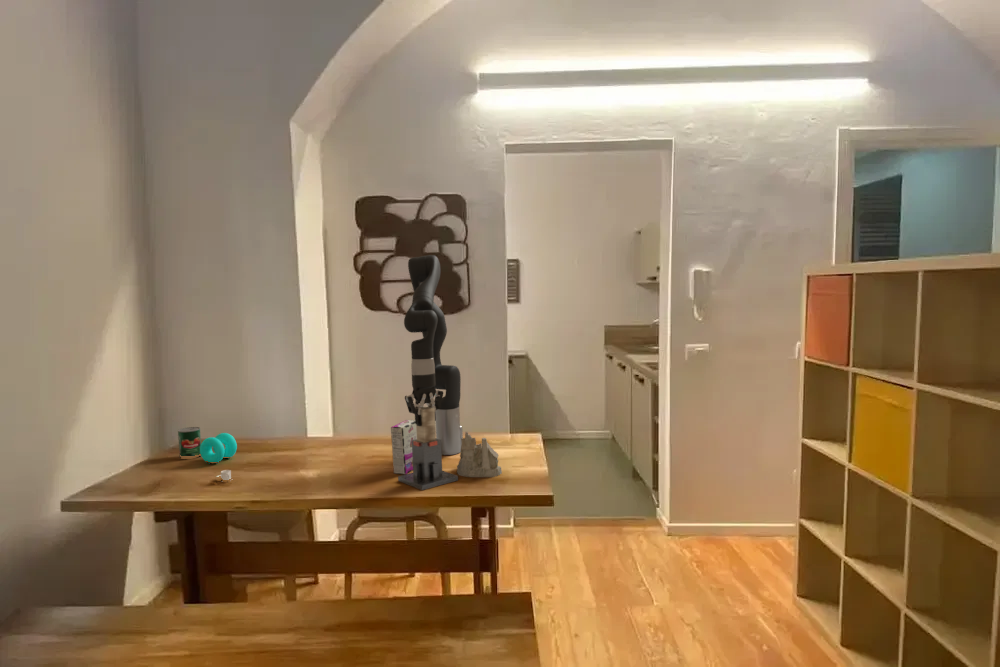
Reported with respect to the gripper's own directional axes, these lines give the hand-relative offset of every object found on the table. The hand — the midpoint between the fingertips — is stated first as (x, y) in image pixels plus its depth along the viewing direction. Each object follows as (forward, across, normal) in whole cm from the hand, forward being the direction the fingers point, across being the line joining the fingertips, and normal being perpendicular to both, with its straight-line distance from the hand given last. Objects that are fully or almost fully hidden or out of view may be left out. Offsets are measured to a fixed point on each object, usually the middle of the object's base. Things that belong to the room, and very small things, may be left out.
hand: (425, 424), depth 212 cm
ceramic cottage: (+19, -19, +4) cm, 27 cm away
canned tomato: (+19, +47, -94) cm, 107 cm away
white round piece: (+19, +46, -51) cm, 71 cm away
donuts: (+19, +41, -79) cm, 91 cm away
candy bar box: (+19, -2, -16) cm, 25 cm away
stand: (+19, 0, 0) cm, 19 cm away
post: (+15, 0, 0) cm, 15 cm away
